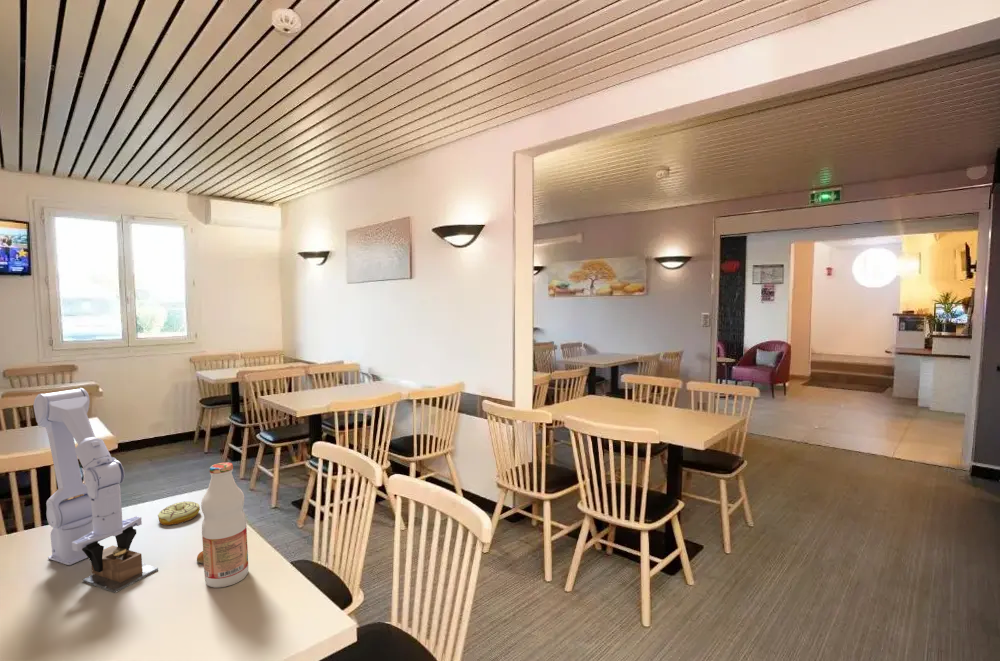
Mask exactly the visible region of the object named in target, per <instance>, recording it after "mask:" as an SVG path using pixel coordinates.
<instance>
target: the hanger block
mask: <svg viewBox="0 0 1000 661" xmlns="http://www.w3.org/2000/svg"><path fill="white" fill-rule="evenodd" d="M117 549H120V547H118V546H117V545H110V546H109V547H106V548H104V549H103V554H102V563H103V570H102V571H101V572H96V571H94V568H93V566H92V563H91V562H90V564H91V574H92V575H93V574H96V575H99V576H102V577H105V578H108V579H111V580H114V581H118V582H123V581H125V580H127V579H129V578H131V577H133V576H135V575H137V574H139V573H141V572H143V570H142V563H143V557H142V553H141V552H137V551H133V550H130V549H129V550H127V549H126V554H125V555H123V558H124V560H121V559H116V557H113V551H115V550H117Z"/></svg>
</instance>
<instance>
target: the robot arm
mask: <svg viewBox="0 0 1000 661" xmlns="http://www.w3.org/2000/svg"><path fill="white" fill-rule="evenodd" d="M90 403H91V402H90V395H89V393H88V391H87V389H85V388H83V387H78V388H76V389H75V388H74V389H68V390H67V389H66V390H61V391H53V392H46V393H38V394H37V395H36V396H35V398H34V402H33V411H34V416H35V422H36V423H37V426H38V427H42V428H45V429H46V433H47V436H48V442H49V447H50V448H49V449H50V453H51V457H52V462H53V468H54V472H55V479H56V483H57V488H58V489H57V490H56V491H55V492H54V493H53V494H52V495H50V497H49V498H48V499H47V500H46V503H45V504H46V505H45V506H46V513H45V514H46V519H47V523H48V525H49V526H50V527H51V528H52V529H51V532H50V544H51V555H49V556H47V558H48V559H49V560H52V561H54V562H57V563H61V564H63V565H67V566H72V565H74V564H76V563H78V562H80V561H83V560H86V559H87V558H88V560H89V561H90V564H91V563H92V566H93V568H94V571H96V572H101V571H102V570H103V563H102V554H103V550H104V549H105V546H103V545H101V544H100V542H101V541H103V540H106V539H108V538H110V537H115V540H116V547H120V548H125V549H127V550H130V549H131V548H130V547H131V544H132V543H133V539H135V537H136V535H137V529H135V528H134V527H139V526H141V525H142V524H143V523H142V517H140V516H138V515H135V516H134V517H130V518H127V519H123V510H122V509H123V508H122V496H121V494H122V492H121V484H122V483H123V482H124V481H125V477H126V476H125V469H124V466H123V465H122V463H121V461H119V460H117V458H116V457H113V456H112V455H111V453H110V451H109V449H108V447H107V445H106V443H105V442H104V441H105V440H103V439H102V438H99V437H96V436H95V433H94V430H93V428H92V424H91V421H90V420H89V416H88V412H89V409H90V405H91V404H90ZM75 441H76V443H77V445H76V444H75ZM79 462H80V464H79ZM80 465H81V466H82V468H83V470H84V477H83V478H82V475H81V469H80ZM83 479H84V483H83ZM70 498H71V499H70Z"/></svg>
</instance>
